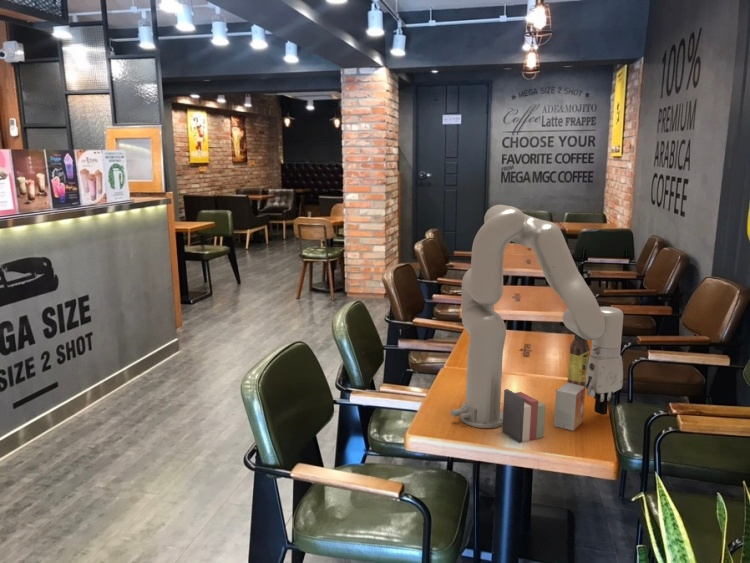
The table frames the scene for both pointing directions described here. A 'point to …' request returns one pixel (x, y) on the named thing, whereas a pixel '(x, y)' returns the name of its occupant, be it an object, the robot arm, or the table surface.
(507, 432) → the book row
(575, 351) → the sauce bottle
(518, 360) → the table surface
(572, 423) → the small box
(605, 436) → the table surface
